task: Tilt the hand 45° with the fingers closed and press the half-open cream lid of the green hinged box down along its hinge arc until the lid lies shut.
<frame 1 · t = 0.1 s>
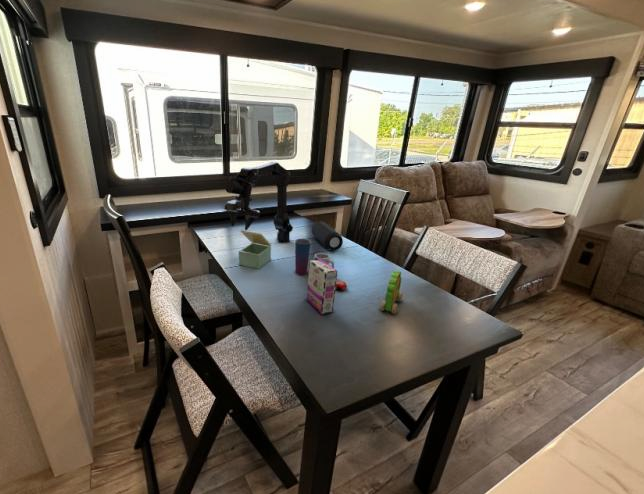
hand: (239, 228, 148), 15 cm above the table, tool pointing down, fingers open, 9 cm apart
green hinged box: (255, 261, 150), on the table
portable speaker: (325, 244, 175), on the table
green toy caterpillar: (390, 307, 114), on the table
cup: (301, 272, 140), on the table
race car: (330, 286, 128), on the table
candy bar box: (319, 306, 114), on the table
lid: (256, 238, 146), point 12 cm above the table, hinge at 40.0°
mug: (323, 270, 142), on the table
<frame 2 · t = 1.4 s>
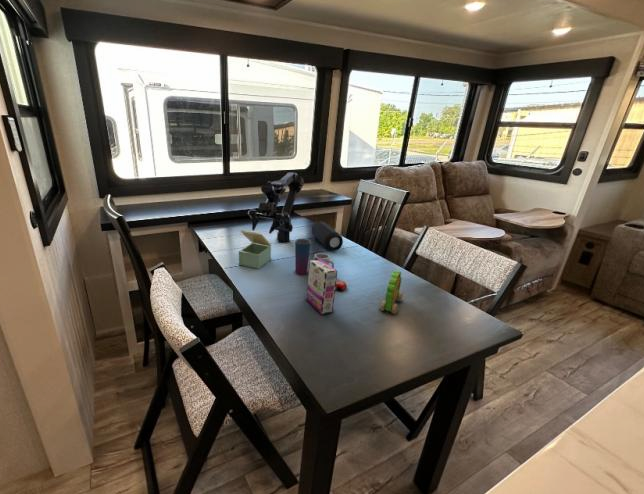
hand: (261, 231, 150), 13 cm above the table, tool tilted 45°, fingers open, 9 cm apart
nothing on the table moved.
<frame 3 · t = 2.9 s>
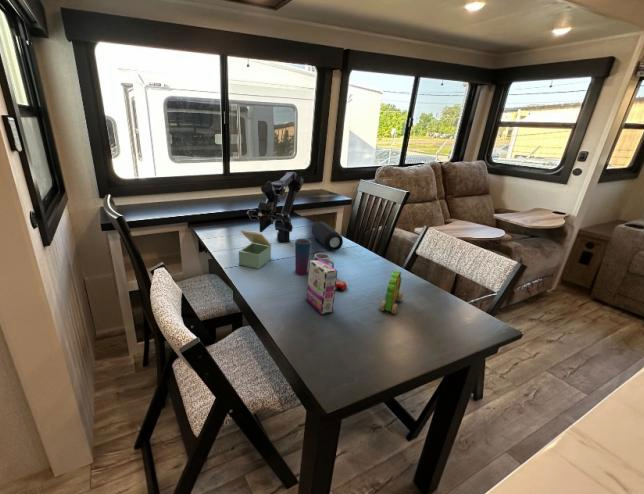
hand: (260, 231, 149), 14 cm above the table, tool tilted 45°, fingers closed
nothing on the table moved.
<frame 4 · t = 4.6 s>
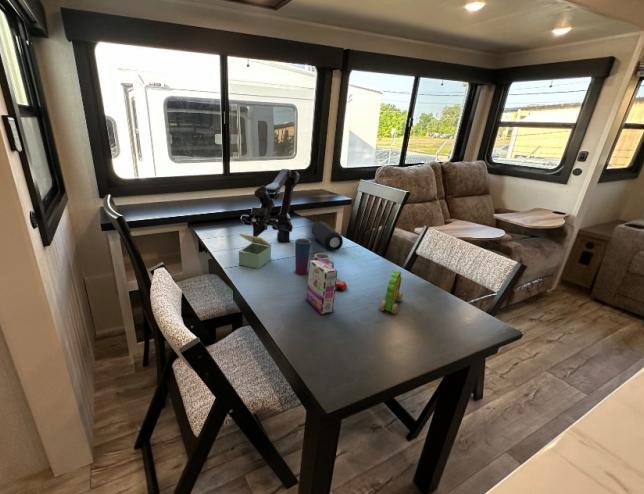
hand: (254, 238, 144), 13 cm above the table, tool tilted 45°, fingers closed, pressing on lid
lid: (255, 240, 146), point 11 cm above the table, hinge at 32.5°, touching gripper
everything else where it was.
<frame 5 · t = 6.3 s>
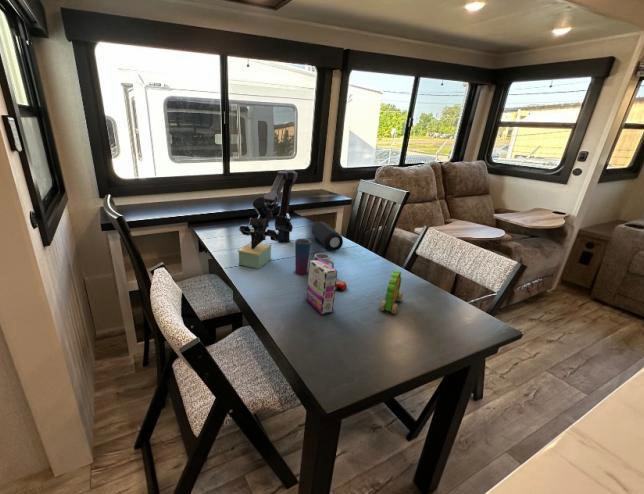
hand: (252, 248, 144), 8 cm above the table, tool tilted 45°, fingers closed, pressing on lid
lid: (254, 248, 147), point 7 cm above the table, hinge at -0.2°, touching gripper, green hinged box
everything else where it was.
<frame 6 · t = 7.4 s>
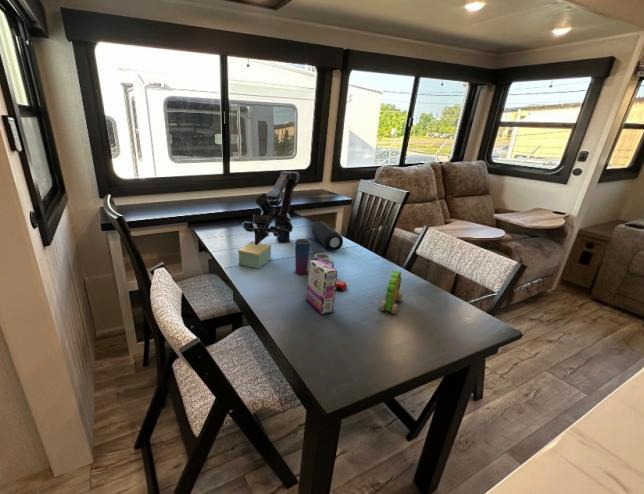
hand: (255, 244, 147), 9 cm above the table, tool tilted 45°, fingers closed
lid: (254, 248, 147), point 7 cm above the table, hinge at -0.2°, touching green hinged box
everything else where it was.
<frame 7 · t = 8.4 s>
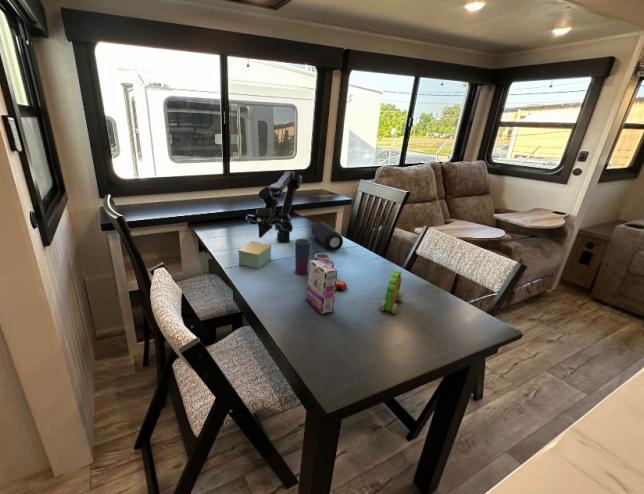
hand: (259, 237, 149), 11 cm above the table, tool tilted 40°, fingers closed
nothing on the table moved.
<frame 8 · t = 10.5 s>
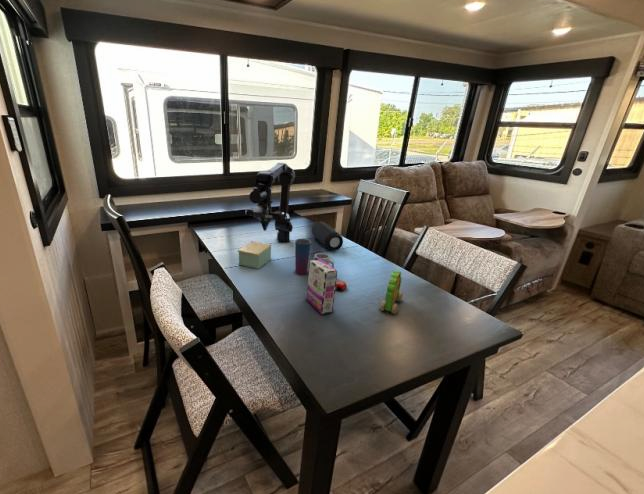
hand: (264, 230, 153), 13 cm above the table, tool pointing down, fingers closed
nothing on the table moved.
at the end: lid at +0° (first picture: +40°) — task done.
